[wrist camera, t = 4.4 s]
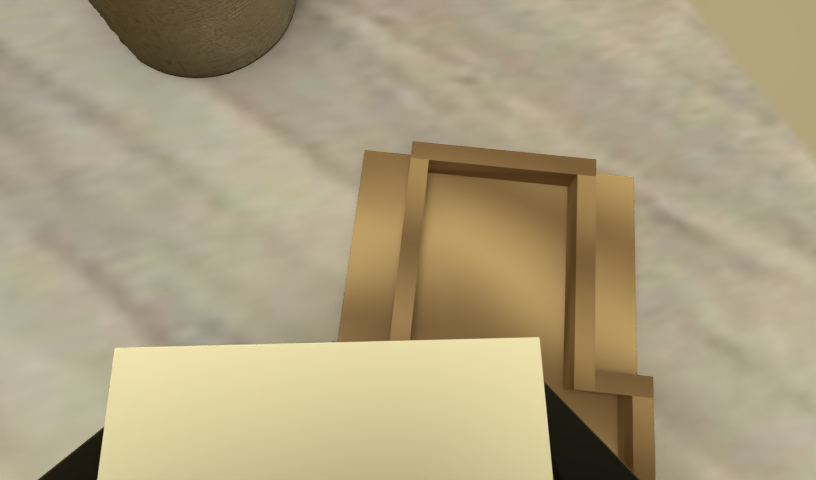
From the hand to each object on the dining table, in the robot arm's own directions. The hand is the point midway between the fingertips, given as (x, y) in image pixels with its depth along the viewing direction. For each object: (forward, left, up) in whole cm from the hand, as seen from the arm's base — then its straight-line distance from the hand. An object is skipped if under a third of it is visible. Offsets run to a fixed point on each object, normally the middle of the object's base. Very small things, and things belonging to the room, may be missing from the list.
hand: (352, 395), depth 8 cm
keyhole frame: (-3, -3, -13) cm, 14 cm away
